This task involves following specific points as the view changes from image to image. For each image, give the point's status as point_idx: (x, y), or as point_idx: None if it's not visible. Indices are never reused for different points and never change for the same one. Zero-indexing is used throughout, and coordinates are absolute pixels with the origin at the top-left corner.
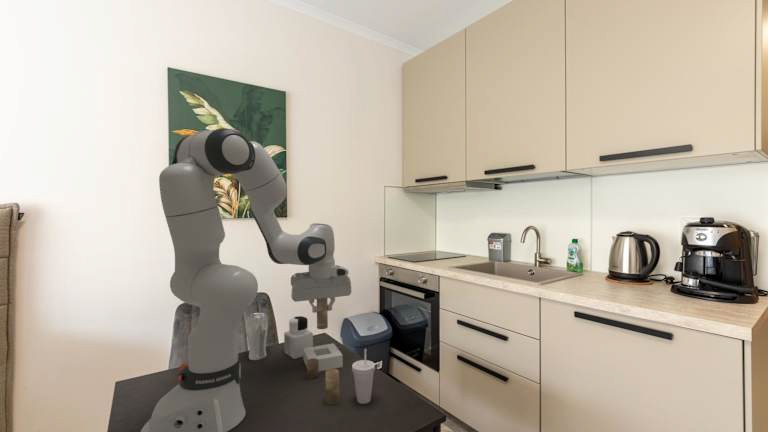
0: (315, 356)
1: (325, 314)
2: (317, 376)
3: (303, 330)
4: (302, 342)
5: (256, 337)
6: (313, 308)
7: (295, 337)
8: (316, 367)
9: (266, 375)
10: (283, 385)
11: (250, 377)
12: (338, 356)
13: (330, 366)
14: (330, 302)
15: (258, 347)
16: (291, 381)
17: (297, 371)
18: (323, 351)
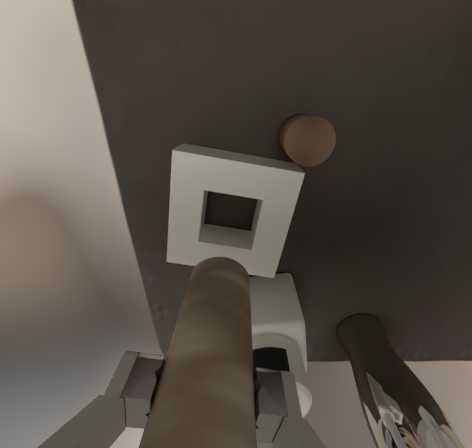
0: (268, 198)
1: (198, 323)
2: (290, 117)
3: (262, 344)
4: (267, 305)
5: (409, 374)
6: (299, 411)
7: (298, 322)
8: (301, 117)
9: (399, 224)
10: (399, 133)
11: (437, 237)
12: (190, 153)
13: (225, 152)
14: (101, 445)
15: (380, 344)
16: (366, 145)
17: (318, 198)
18: (215, 238)
